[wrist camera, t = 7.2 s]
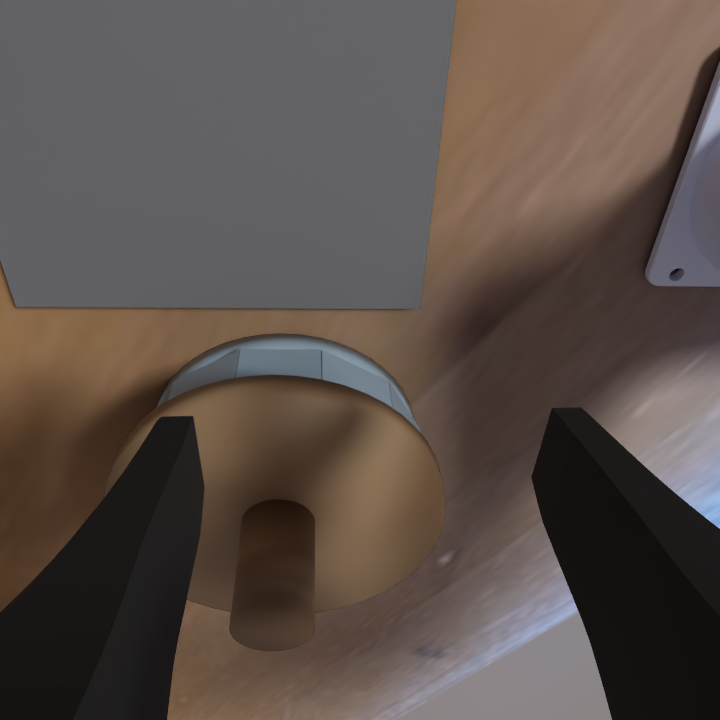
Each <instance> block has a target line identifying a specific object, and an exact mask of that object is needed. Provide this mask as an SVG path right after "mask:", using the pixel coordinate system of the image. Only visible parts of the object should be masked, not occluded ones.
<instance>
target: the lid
mask: <svg viewBox="0 0 720 720" xmlns="http://www.w3.org/2000/svg"><path fill="white" fill-rule="evenodd" d="M165 416H193V417H194V423H195V430H196V436H197V442H198V448H199V455H200V461H201V467H202V474H203V480H204V486H205V490H204V501H203V512H202V522H201V532H200V539H199V543H198V548H197V553H196V558H195V563H194V567H193V572H192V577H191V581H190V586H189V590H188V595H187V600H189V601H192V602H195V603H198V604H201V605H204V606H208V607H211V608H215V609H220V610H224V611H229V612H231V618H230V627H229V630H230V634H231V635H232V637H233V638H234V639H235V640H236V641H237V642H239V643H240V644H242V645H244V646H246V647H249V648H252V649H257V650H263V651H281V650H287V649H291V648H294V647H297V646H300V645H302V644H303V643H305V642H307V641H308V640H309V639H310V638H311V637H312V635H313V634H314V631H315V613H318V612H324V611H329V610H333V609H338V608H342V607H345V606H349V605H352V604H355V603H358V602H361V601H363V600H366V599H368V598H371V597H373V596H376V595H378V594H379V593H381V592H383V591H385V590H387V589H389V588H391V587H392V586H394V585H396V584H397V583H399V582H400V581H402V580H403V579H405V578H406V577H407V576H408V575H409V574H411V573H412V572H413V571H414V570H415V569H417V567H418V566H419V565H420V564H421V563H422V562H423V561H424V560H425V559H426V558H427V556H428V555H429V554H430V552H431V551H432V549H433V548H434V546H435V545H436V543H437V540H438V538H439V536H440V534H441V531H442V528H443V524H444V521H445V510H446V502H445V495H444V488H443V484H442V479H441V474H440V469H439V466H438V463H437V460H436V457H435V455H434V453H433V451H432V449H431V447H430V446H429V444H428V442H427V440H426V439H425V438H424V437H423V435H422V434H421V433H420V432H419V430H418V429H417V428H416V427H415V426H414V425H413V424H412V423H411V422H410V421H409V420H407V419H406V418H405V417H404V416H403V415H402V414H400V413H399V412H398V411H396V410H395V409H393V408H392V407H390V406H389V405H387V404H386V403H384V402H382V401H380V400H378V399H376V398H374V397H372V396H370V395H369V394H367V393H364V392H361V391H359V390H356V389H353V388H351V387H348V386H345V385H342V384H338V383H334V382H330V381H326V380H322V379H316V378H309V377H302V376H292V375H257V376H244V377H238V378H232V379H226V380H221V381H217V382H213V383H210V384H206V385H203V386H199V387H197V388H194V389H192V390H189V391H187V392H184V393H182V394H179V395H177V396H175V397H174V398H172V399H170V400H168V401H167V402H165V403H163V404H161V405H159V406H158V407H157V408H155V409H154V410H153V411H151V412H150V413H149V414H148V415H146V416H145V417H144V418H142V419H141V421H140V422H139V423H138V424H137V425H136V426H135V427H134V428H133V429H132V430H131V431H130V432H129V434H128V435H127V437H126V438H125V440H124V441H123V443H122V444H121V446H120V448H119V450H118V453H117V455H116V458H115V460H114V463H113V465H112V468H111V471H110V474H109V477H108V480H107V483H106V487H105V493H104V497H105V496H106V495H107V493H108V492H109V491H110V489H111V488H112V487H113V485H114V484H115V482H116V481H117V480H118V478H119V477H120V476H121V474H122V473H123V472H124V470H125V469H126V467H127V466H128V464H129V463H130V461H131V460H132V458H133V457H134V456H135V454H136V453H137V451H138V450H139V448H140V447H141V445H142V443H143V442H144V440H145V439H146V437H147V436H148V434H149V432H150V431H151V429H152V428H153V426H154V424H155V423H156V421H157V420H158V419H159V418H160V417H165ZM103 499H104V498H103Z"/></svg>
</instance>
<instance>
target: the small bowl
mask: <svg viewBox="0 0 720 720" xmlns="http://www.w3.org/2000/svg"><path fill="white" fill-rule="evenodd" d="M257 375H292V376H302V377H309V378H316V379H322V380H326V381H330V382H334V383H338V384H342V385H345V386H348V387H351V388H353V389H356V390H359V391H361V392H364V393H367V394H369V395H370V396H372V397H374V398H376V399H378V400H380V401H382V402H384V403H386V404H387V405H389V406H390V407H392V408H393V409H395V410H396V411H398V412H399V413H400V414H402V415H403V416H404V417H405V418H406V419H407V420H409V421H410V422H411V423H412V424H413V425H414V426H415V427H416V428H417V429H418V430H419V432H420V433H421V430H420V428H419V426H418V425H417V423H416V422H415V420H414V418H413V413H412V410H411V407H410V404H409V401H408V399H407V397H406V395H405V394H404V392H403V390H402V388H401V387H400V386H399V384H398V383H397V382H396V381H395V379H394V378H393V377H392V376H391V375H390V374H389V373H388V372H387V371H386V370H385V369H384V368H383V367H381V366H380V365H379V364H377V363H376V362H375V361H373V360H372V359H371V358H369V357H367V356H365V355H364V354H362V353H360V352H358V351H356V350H355V349H352V348H350V347H347V346H345V345H342V344H340V343H337V342H333V341H330V340H326V339H323V338H318V337H312V336H306V335H298V334H265V335H257V336H251V337H245V338H241V339H237V340H234V341H230V342H227V343H224V344H222V345H219V346H217V347H214V348H212V349H210V350H208V351H206V352H204V353H203V354H201V355H199V356H197V357H196V358H194V359H193V360H191V361H190V362H189V363H188V364H186V365H185V366H184V367H182V368H181V369H180V370H179V371H178V372H177V374H176V375H175V376H174V377H173V378H172V379H171V380H170V382H169V383H168V385H167V386H166V387H165V389H164V390H163V392H162V395H161V397H160V399H159V401H158V404H157V407H158V406H159V405H161V404H163V403H165V402H167V401H168V400H170V399H172V398H174V397H175V396H177V395H179V394H182V393H184V392H187V391H189V390H192V389H194V388H197V387H199V386H203V385H206V384H210V383H213V382H217V381H221V380H226V379H232V378H238V377H244V376H257ZM157 407H156V408H157Z"/></svg>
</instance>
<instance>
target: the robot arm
mask: <svg viewBox="0 0 720 720" xmlns="http://www.w3.org/2000/svg"><path fill="white" fill-rule="evenodd" d="M677 268H679V270H678V272H677V273H675V274H674V275H671V276H669V275H670V273H671V272H672V271H673V270H675V269H677ZM645 276H646V279H647V280H648V281H649V282H650V283H651V284H652V285H655V286H703V287H720V62H719V65H718V68H717V70H716V73H715V76H714V79H713V82H712V84H711V87H710V90H709V93H708V96H707V98H706V101H705V104H704V107H703V110H702V112H701V115H700V118H699V121H698V124H697V126H696V129H695V132H694V135H693V138H692V140H691V143H690V146H689V149H688V152H687V155H686V157H685V160H684V163H683V166H682V169H681V171H680V174H679V177H678V180H677V183H676V185H675V188H674V191H673V194H672V197H671V199H670V202H669V205H668V208H667V211H666V213H665V216H664V219H663V222H662V225H661V227H660V230H659V233H658V236H657V239H656V241H655V244H654V247H653V250H652V253H651V255H650V258H649V261H648V264H647V267H646V269H645ZM532 481H533V485H534V490H535V494H536V498H537V502H538V506H539V509H540V513H541V517H542V520H543V524H544V526H545V529H546V531H547V534H548V537H549V539H550V542H551V544H552V547H553V549H554V552H555V554H556V557H557V559H558V562H559V564H560V567H561V569H562V571H563V574H564V576H565V579H566V581H567V584H568V586H569V589H570V591H571V594H572V596H573V599H574V601H575V604H576V606H577V608H578V611H579V613H580V616H581V618H582V621H583V624H584V626H585V629H586V632H587V635H588V637H589V640H590V643H591V646H592V650H593V653H594V657H595V660H596V663H597V667H598V670H599V674H600V677H601V681H602V684H603V687H604V691H605V694H606V698H607V702H608V706H609V710H610V713H611V717H612V720H720V529H719V528H718V527H716V526H715V525H714V524H712V523H711V522H710V521H709V520H707V519H706V518H705V517H704V516H702V515H701V514H700V513H699V512H697V511H696V510H695V509H694V508H692V507H691V506H690V505H689V504H688V503H686V502H685V501H684V500H683V499H681V498H680V497H679V496H678V495H677V494H675V493H674V492H673V491H672V490H671V489H670V488H668V487H667V486H666V485H665V484H664V483H663V482H662V481H660V480H659V479H658V478H657V477H656V476H655V475H654V474H652V473H651V472H650V471H649V470H648V469H647V468H646V467H645V466H644V465H642V464H641V463H640V462H639V461H638V460H637V459H636V458H635V457H634V456H633V455H632V454H631V453H629V452H628V451H627V450H626V449H625V448H624V447H623V446H622V445H621V444H620V443H619V442H618V441H617V440H616V439H614V438H613V437H612V436H611V435H610V434H609V433H608V432H607V431H606V430H605V429H604V428H603V427H602V426H601V425H600V424H599V423H597V422H596V421H595V420H594V419H593V418H592V417H591V416H590V415H589V414H588V413H587V412H585V411H584V410H583V409H582V408H552V410H551V414H550V417H549V420H548V424H547V427H546V430H545V434H544V437H543V440H542V444H541V447H540V450H539V454H538V457H537V461H536V464H535V467H534V471H533V474H532ZM204 490H205V486H204V480H203V474H202V467H201V461H200V455H199V448H198V442H197V436H196V430H195V423H194V417H193V416H165V417H160V418H159V419H158V420H157V421H156V423H155V424H154V426H153V428H152V429H151V431H150V432H149V434H148V436H147V437H146V439H145V440H144V442H143V443H142V445H141V447H140V448H139V450H138V451H137V453H136V454H135V456H134V457H133V458H132V460H131V461H130V463H129V464H128V466H127V467H126V469H125V470H124V472H123V473H122V474H121V476H120V477H119V478H118V480H117V481H116V482H115V484H114V485H113V487H112V488H111V489H110V491H109V492H108V493H107V495H106V496H105V497H104V499H103V500H102V501H101V503H100V504H99V505H98V507H97V508H96V509H95V510H94V512H93V513H92V514H91V515H90V516H89V518H88V519H87V520H86V521H85V523H84V524H83V525H82V526H81V527H80V529H79V530H78V531H77V532H76V534H75V535H74V536H73V537H72V538H71V540H70V541H69V542H68V543H67V544H66V545H65V546H64V548H63V549H62V550H61V551H60V552H59V553H58V554H57V555H56V557H55V558H54V559H53V560H52V561H51V562H50V563H49V564H48V565H47V566H46V567H45V568H44V569H43V570H42V572H41V573H40V574H39V575H38V576H37V577H36V578H35V579H34V580H33V581H32V582H31V583H30V584H29V585H28V586H27V587H26V588H25V589H24V590H23V591H22V592H21V593H20V594H19V595H18V596H17V597H16V598H15V599H14V600H13V601H12V602H11V603H10V604H8V605H7V606H6V607H5V608H4V609H3V610H2V611H1V612H0V720H167V714H168V705H169V697H170V688H171V680H172V671H173V664H174V658H175V653H176V647H177V641H178V637H179V632H180V627H181V623H182V618H183V614H184V609H185V604H186V600H187V595H188V590H189V586H190V581H191V577H192V572H193V567H194V563H195V558H196V553H197V548H198V543H199V539H200V532H201V522H202V512H203V501H204Z"/></svg>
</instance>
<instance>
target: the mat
mask: <svg viewBox="0 0 720 720" xmlns="http://www.w3.org/2000/svg"><path fill="white" fill-rule="evenodd" d="M456 1H457V0H0V262H1V264H2V267H3V270H4V273H5V276H6V279H7V282H8V285H9V288H10V291H11V294H12V297H13V300H14V303H15V305H16V307H112V308H296V309H420V308H421V300H422V291H423V283H424V274H425V266H426V257H427V249H428V240H429V232H430V223H431V214H432V206H433V197H434V189H435V180H436V172H437V163H438V155H439V146H440V138H441V129H442V121H443V112H444V103H445V95H446V86H447V78H448V69H449V61H450V52H451V44H452V35H453V27H454V18H455V10H456Z"/></svg>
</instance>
